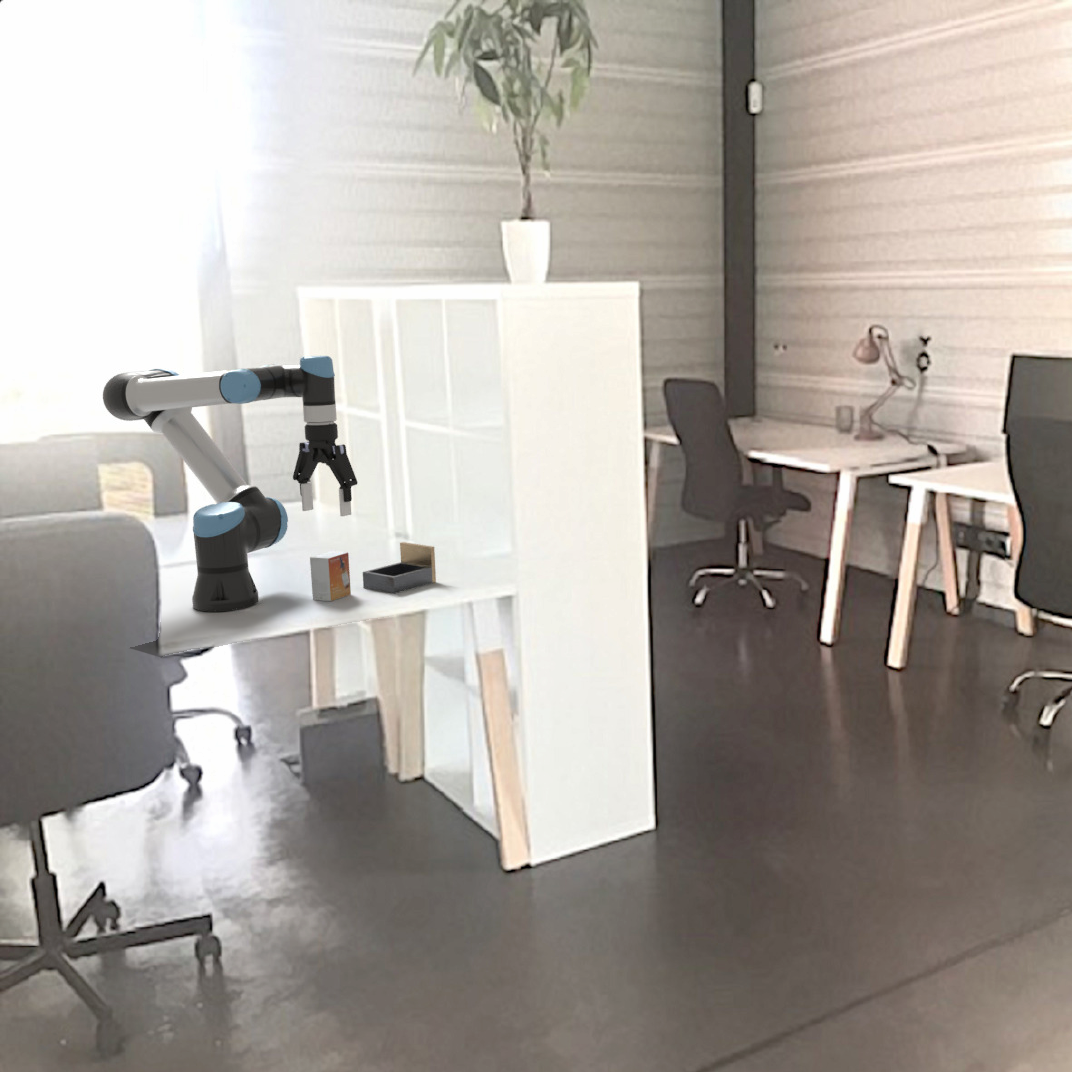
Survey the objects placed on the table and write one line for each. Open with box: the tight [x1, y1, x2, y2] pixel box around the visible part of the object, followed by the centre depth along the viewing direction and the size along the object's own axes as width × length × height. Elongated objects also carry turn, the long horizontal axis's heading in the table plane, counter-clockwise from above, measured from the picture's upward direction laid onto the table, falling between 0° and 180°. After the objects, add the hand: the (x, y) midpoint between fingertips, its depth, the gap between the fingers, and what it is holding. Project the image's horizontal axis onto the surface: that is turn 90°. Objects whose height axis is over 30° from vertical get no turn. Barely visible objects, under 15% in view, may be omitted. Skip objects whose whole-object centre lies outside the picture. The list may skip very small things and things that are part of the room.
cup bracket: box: [362, 541, 437, 595], centre depth 292 cm, size 11×14×9 cm
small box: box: [309, 550, 352, 602], centre depth 282 cm, size 8×6×10 cm
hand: (326, 512), depth 279 cm, fingers open, 13 cm apart
